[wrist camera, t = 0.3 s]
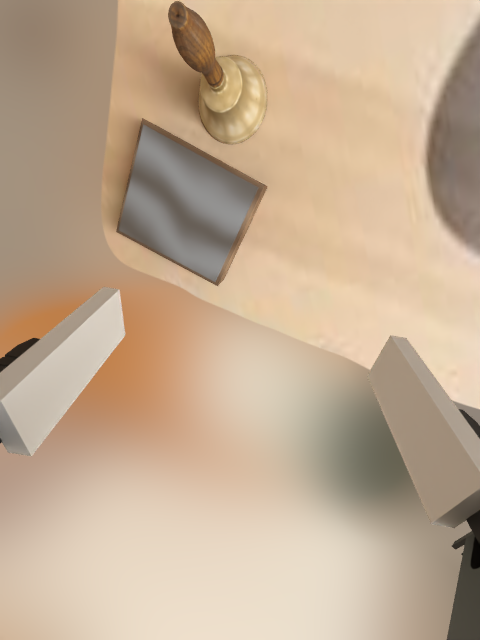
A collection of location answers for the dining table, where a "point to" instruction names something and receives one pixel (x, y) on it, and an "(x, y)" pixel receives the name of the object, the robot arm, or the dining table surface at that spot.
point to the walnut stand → (187, 204)
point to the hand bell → (220, 80)
